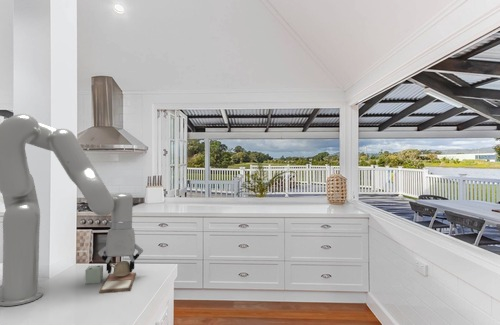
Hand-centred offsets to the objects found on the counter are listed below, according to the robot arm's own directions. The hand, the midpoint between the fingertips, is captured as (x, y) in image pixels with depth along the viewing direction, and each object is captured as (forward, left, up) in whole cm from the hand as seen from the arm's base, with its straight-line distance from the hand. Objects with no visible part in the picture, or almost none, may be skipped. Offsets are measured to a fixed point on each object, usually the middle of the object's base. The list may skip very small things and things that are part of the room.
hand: (120, 271), depth 119 cm
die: (-9, +1, -3) cm, 10 cm away
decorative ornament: (0, 0, -2) cm, 2 cm away
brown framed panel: (0, -4, -3) cm, 5 cm away
